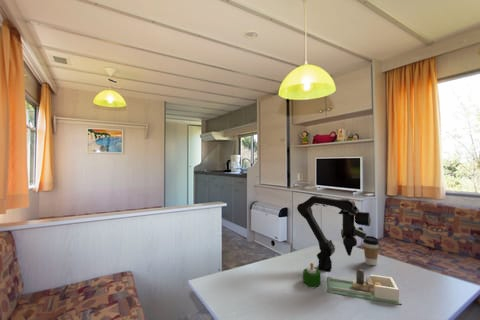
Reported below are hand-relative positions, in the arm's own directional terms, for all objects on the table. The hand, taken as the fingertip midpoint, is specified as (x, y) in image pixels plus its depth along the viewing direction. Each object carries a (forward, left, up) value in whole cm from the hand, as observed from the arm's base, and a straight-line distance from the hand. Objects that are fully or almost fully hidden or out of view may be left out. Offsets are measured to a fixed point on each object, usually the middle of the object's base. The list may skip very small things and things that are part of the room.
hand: (348, 252), depth 128 cm
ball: (+11, -14, -10) cm, 20 cm away
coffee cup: (+14, +20, -12) cm, 27 cm away
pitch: (+5, -14, -12) cm, 19 cm away
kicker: (+5, -14, -11) cm, 19 cm away
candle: (-18, -15, -12) cm, 26 cm away
